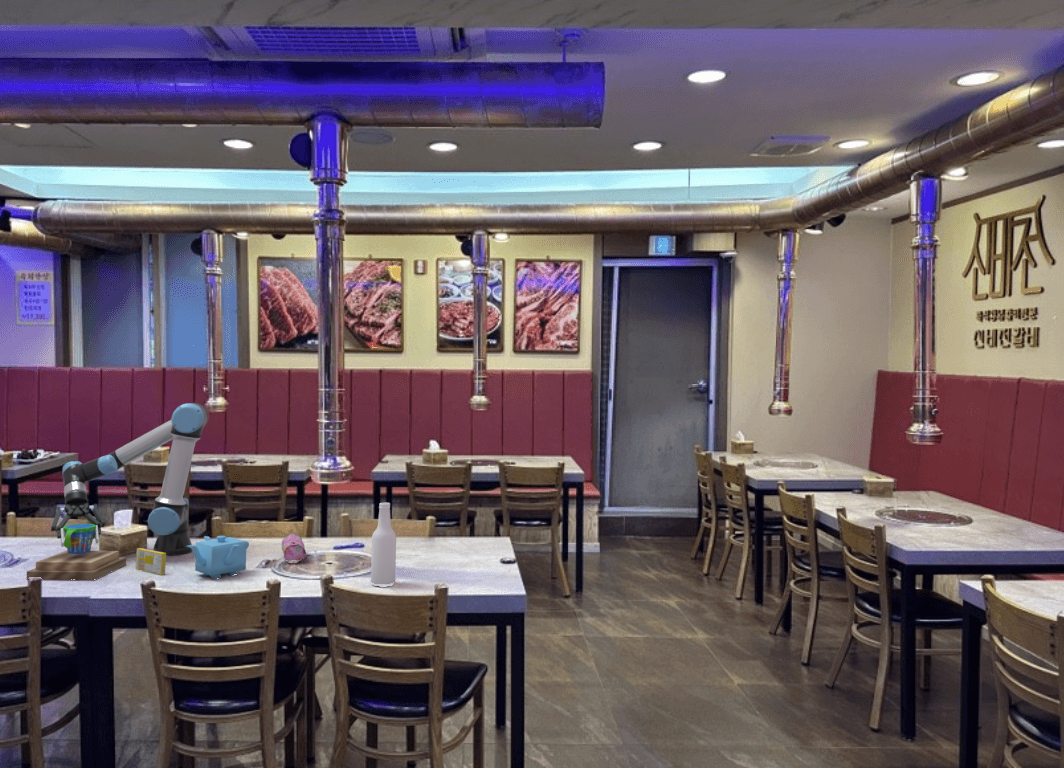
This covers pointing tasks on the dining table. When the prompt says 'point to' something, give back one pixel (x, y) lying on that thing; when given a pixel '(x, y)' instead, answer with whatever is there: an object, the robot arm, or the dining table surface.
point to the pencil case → (293, 547)
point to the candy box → (151, 561)
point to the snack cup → (79, 538)
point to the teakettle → (220, 556)
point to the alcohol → (383, 549)
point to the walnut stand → (77, 565)
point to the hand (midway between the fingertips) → (80, 543)
